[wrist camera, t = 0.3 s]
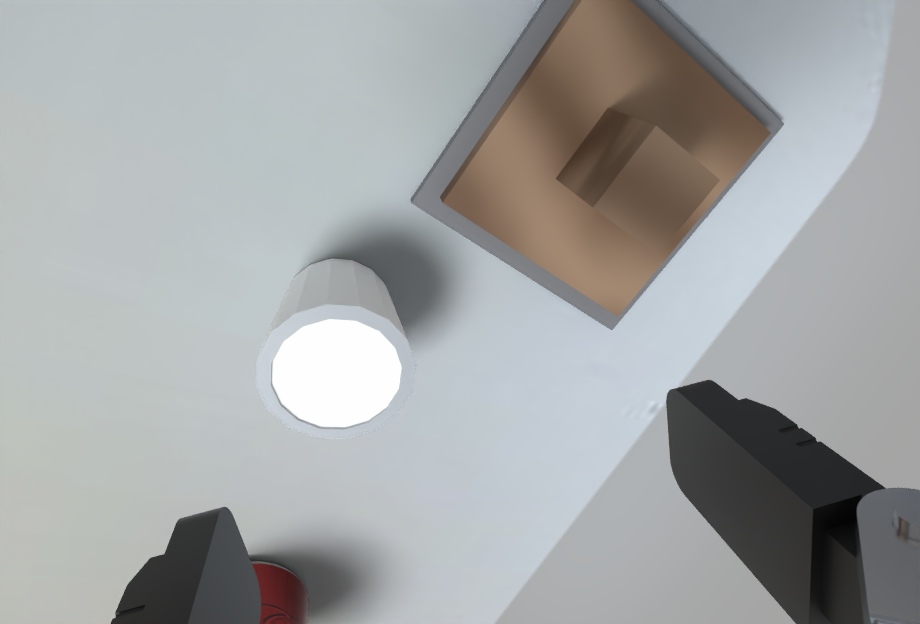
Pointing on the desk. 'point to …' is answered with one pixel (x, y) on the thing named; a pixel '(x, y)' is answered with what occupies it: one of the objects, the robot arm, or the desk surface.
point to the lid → (605, 153)
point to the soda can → (281, 595)
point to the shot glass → (335, 353)
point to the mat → (497, 94)
